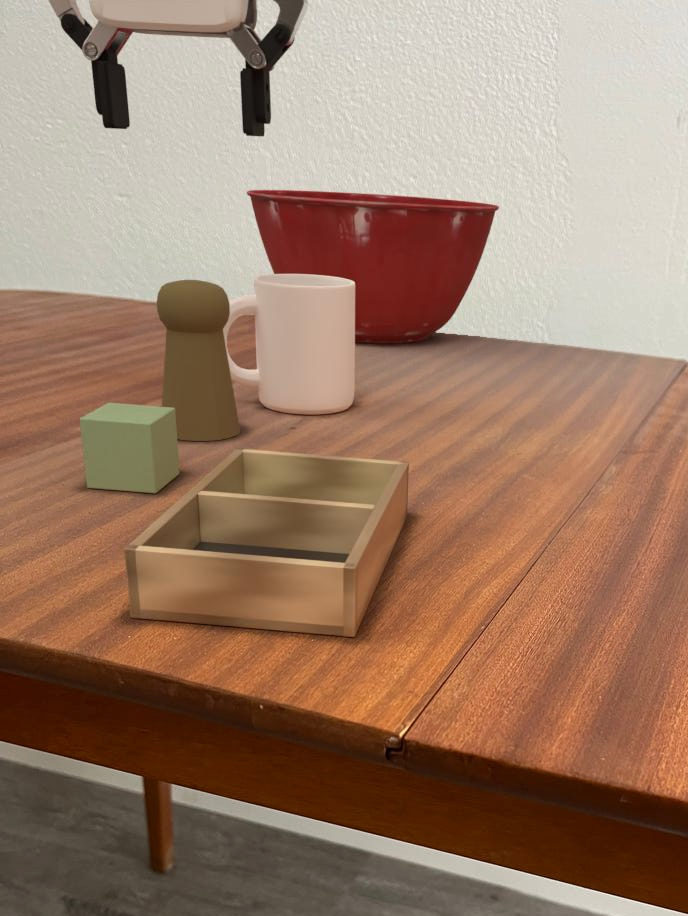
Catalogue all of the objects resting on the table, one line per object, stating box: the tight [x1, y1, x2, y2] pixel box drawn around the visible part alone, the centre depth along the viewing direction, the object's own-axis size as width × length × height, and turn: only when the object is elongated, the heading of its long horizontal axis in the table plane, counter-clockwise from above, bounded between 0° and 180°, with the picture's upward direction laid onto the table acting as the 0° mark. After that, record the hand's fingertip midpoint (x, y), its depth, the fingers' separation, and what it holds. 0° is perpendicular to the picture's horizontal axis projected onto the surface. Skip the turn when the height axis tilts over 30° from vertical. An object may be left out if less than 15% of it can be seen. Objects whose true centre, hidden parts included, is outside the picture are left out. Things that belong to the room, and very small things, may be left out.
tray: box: [123, 447, 410, 638], centre depth 55 cm, size 11×18×4 cm, turn 176°
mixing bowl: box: [246, 189, 500, 344], centre depth 120 cm, size 28×28×15 cm
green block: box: [79, 402, 180, 494], centre depth 66 cm, size 4×4×4 cm
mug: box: [223, 273, 356, 416], centre depth 86 cm, size 12×8×10 cm
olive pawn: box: [156, 279, 241, 442], centre depth 77 cm, size 6×6×11 cm
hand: (185, 132), depth 71 cm, fingers open, 9 cm apart
